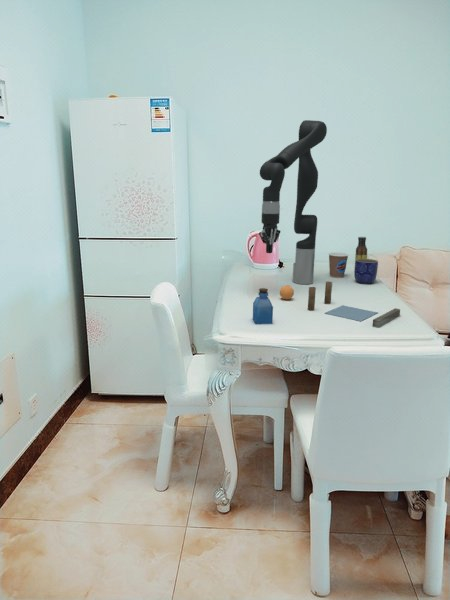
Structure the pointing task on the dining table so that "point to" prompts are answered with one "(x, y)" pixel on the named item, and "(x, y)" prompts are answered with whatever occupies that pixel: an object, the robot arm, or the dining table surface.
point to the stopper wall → (386, 317)
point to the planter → (365, 270)
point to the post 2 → (328, 293)
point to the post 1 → (311, 298)
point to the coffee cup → (337, 264)
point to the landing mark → (351, 313)
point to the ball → (286, 292)
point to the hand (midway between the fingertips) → (269, 252)
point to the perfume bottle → (262, 308)
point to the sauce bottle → (361, 249)
